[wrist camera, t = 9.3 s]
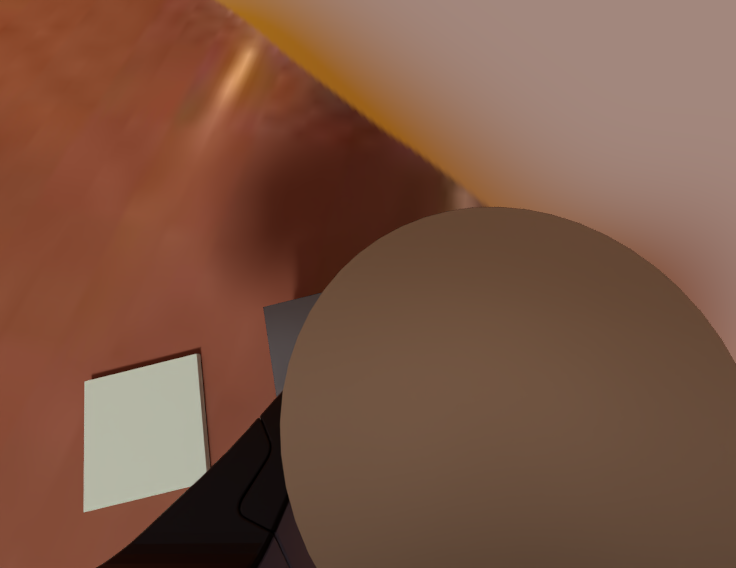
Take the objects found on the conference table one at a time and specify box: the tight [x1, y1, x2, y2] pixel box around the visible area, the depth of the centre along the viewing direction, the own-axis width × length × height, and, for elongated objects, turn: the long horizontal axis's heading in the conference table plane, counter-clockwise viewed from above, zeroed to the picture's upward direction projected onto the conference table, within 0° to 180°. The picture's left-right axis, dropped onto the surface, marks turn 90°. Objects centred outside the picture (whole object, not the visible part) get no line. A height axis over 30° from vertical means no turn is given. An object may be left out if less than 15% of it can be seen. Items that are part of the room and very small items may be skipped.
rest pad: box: [84, 354, 210, 512], centre depth 19 cm, size 7×7×1 cm
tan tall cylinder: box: [280, 207, 736, 568], centre depth 8 cm, size 4×4×12 cm
